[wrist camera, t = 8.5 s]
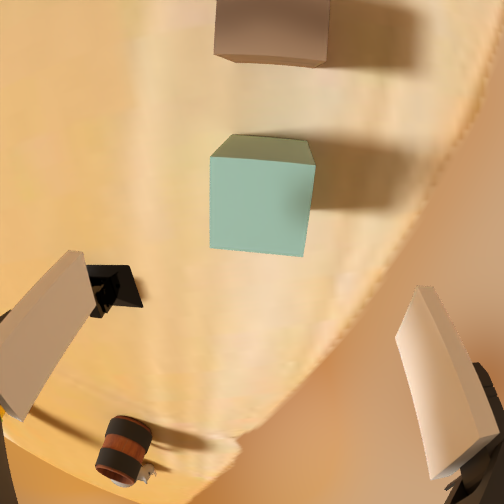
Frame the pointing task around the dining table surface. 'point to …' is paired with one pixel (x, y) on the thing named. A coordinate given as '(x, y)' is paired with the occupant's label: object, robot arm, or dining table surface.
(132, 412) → the dining table surface
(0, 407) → the stacking cups
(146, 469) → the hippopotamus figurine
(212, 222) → the teal block
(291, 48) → the walnut block
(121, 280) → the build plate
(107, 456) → the mug
